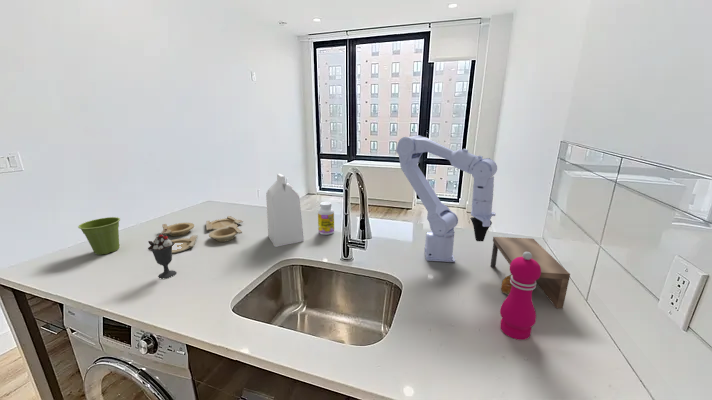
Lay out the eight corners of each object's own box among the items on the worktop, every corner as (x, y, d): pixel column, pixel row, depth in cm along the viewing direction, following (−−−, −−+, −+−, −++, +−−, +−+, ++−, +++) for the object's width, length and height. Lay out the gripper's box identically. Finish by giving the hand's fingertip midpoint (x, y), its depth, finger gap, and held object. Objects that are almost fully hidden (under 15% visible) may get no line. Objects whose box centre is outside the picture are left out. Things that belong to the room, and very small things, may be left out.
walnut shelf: (513, 305, 80) (518, 271, 77) (489, 264, 101) (493, 236, 98) (562, 308, 78) (570, 274, 75) (528, 266, 99) (533, 238, 96)
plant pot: (127, 241, 121) (120, 214, 118) (126, 252, 112) (119, 223, 109) (88, 249, 115) (80, 221, 112) (84, 261, 105) (75, 231, 102)
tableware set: (238, 218, 148) (237, 210, 147) (253, 239, 124) (252, 229, 122) (153, 233, 130) (151, 224, 129) (150, 260, 106) (148, 250, 105)
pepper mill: (491, 321, 74) (502, 245, 68) (520, 319, 75) (533, 244, 69) (508, 342, 67) (522, 260, 61) (539, 340, 68) (555, 259, 62)
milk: (268, 235, 126) (262, 173, 118) (295, 230, 131) (291, 170, 123) (274, 246, 115) (268, 179, 108) (304, 240, 120) (300, 176, 113)
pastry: (518, 301, 82) (520, 289, 81) (494, 291, 87) (495, 279, 86) (532, 288, 88) (534, 277, 86) (508, 279, 92) (510, 268, 91)
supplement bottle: (319, 236, 125) (318, 206, 121) (317, 230, 131) (316, 201, 127) (335, 234, 126) (334, 204, 123) (333, 228, 133) (332, 200, 129)
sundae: (184, 271, 98) (176, 227, 94) (165, 282, 92) (156, 236, 88) (169, 268, 100) (160, 225, 96) (149, 278, 94) (139, 233, 90)
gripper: (503, 205, 86) (499, 250, 89) (490, 193, 99) (487, 232, 103) (476, 205, 87) (474, 249, 90) (467, 193, 101) (465, 232, 104)
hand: (479, 240), depth 97 cm, fingers closed
